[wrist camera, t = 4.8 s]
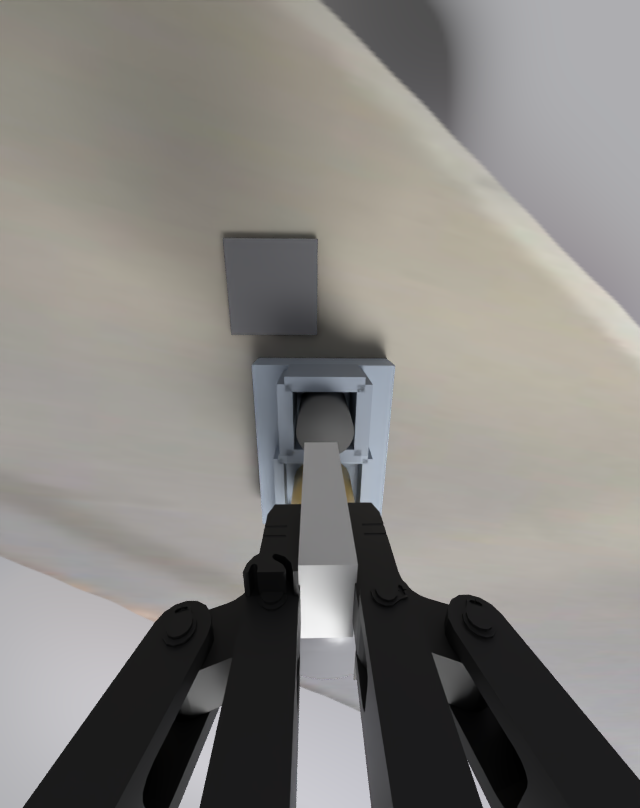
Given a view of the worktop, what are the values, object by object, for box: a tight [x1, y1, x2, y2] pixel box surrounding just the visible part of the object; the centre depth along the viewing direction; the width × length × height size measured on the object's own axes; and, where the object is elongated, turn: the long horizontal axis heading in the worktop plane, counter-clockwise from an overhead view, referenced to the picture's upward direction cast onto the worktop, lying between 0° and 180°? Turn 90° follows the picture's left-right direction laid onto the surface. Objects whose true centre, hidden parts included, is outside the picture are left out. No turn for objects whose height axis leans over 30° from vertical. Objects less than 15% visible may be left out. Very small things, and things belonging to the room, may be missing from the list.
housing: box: [252, 358, 395, 524], centre depth 25 cm, size 15×11×7 cm
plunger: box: [296, 392, 354, 454], centre depth 21 cm, size 4×4×5 cm
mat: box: [223, 238, 318, 335], centre depth 23 cm, size 7×7×1 cm
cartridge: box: [291, 464, 356, 680], centre depth 20 cm, size 5×5×13 cm
